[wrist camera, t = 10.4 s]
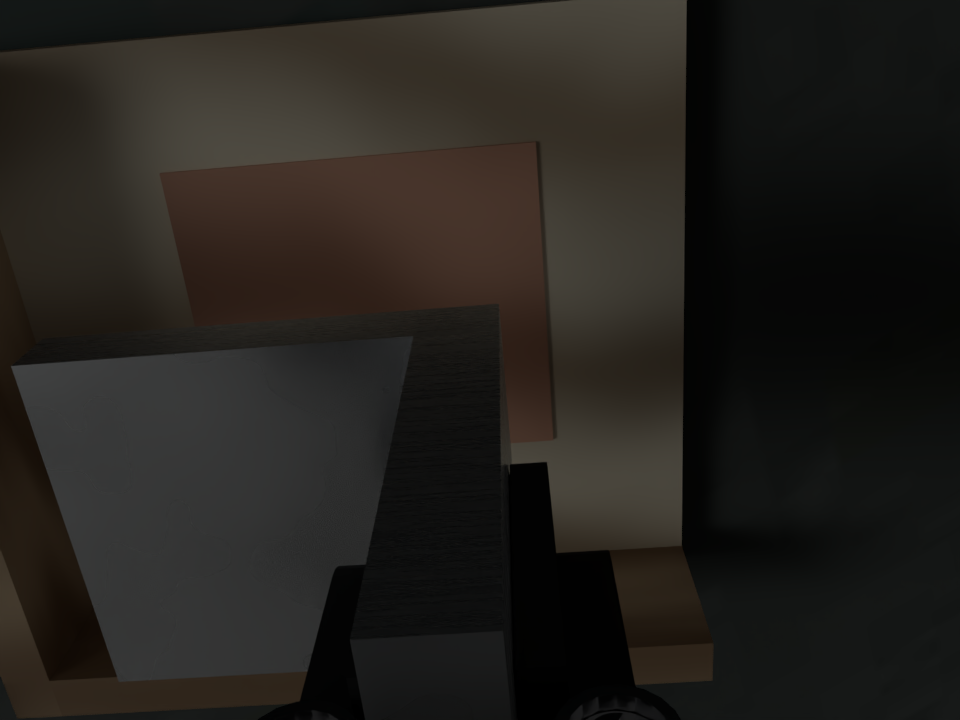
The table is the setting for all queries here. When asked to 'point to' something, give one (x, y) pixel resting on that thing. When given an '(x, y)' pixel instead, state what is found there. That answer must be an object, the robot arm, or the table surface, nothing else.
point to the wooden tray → (363, 266)
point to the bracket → (292, 498)
